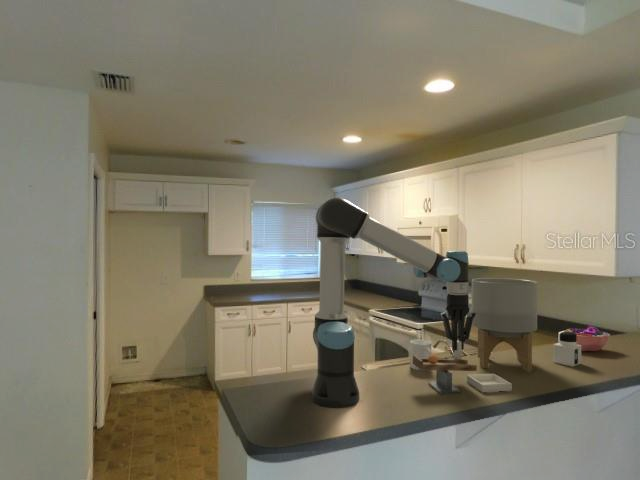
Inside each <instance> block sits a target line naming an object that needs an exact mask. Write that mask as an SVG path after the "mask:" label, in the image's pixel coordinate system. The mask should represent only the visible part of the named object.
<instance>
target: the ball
mask: <svg viewBox="0 0 640 480" xmlns="http://www.w3.org/2000/svg"><path fill="white" fill-rule="evenodd" d="M438 359H439V358H438V357H437V356H436V355H435V354H432V355H430V356H429V357H428V361H429V363H431V364H436V363H437V362H438Z"/></svg>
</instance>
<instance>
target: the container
mask: <svg viewBox="0 0 640 480" xmlns="http://www.w3.org/2000/svg"><path fill="white" fill-rule="evenodd" d="M557 337H558V338H557V339H558V342H557V343H554V344H553V351H552V352H553V355H552V357H553V359H552V360H553V363H555V364H559V365H564V366H568V367H576V366H578V365H581V364H582V350H581V345H577V335H576V334H575V333H573V332H569V331H564V330H562V331H559V332H558V335H557Z"/></svg>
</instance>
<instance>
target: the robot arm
mask: <svg viewBox="0 0 640 480" xmlns="http://www.w3.org/2000/svg"><path fill="white" fill-rule="evenodd" d="M315 221H316V227H317V229H316V232H317V233H316V239H317V240H318V241H319V242H320V270H319V271H320V273H319V278H320V279H319V304H318V305H319V306H318V307H319V310H318V311H317V312H316V313H315V314H314V328H313V331H312V340H313V342H314V345H315V346H316V349H317V351H316V352H317V372H316V373H317V374H316V378H315V380H314V383H313V387H312V389H311V399H312V400H311V401H313V402H314V403H316V404H317V405H319V406H321V407H322V406H323V407H327V408H344V407H345V408H348V407H351V406H353V405H356V404H357V403H358V402H360V391H359V386H358V383H357V381H356V380H357V379H356V378H355V339H356V338H355V337H356V336H355V331H354V328H353V327H352V325H350V324H349V322H348V318H349V317H348V315H347V313H346V312H345V311H344V310H345V309H344V307H345V273H346V270H345V269H346V244H347V243H348V242H349V240H350V239H353V240H355V239H359V240H361V241H363V242H366V243H368V244H369V245H371V246H374V247H376V248H378V249H379V250H381V251H383V252H385V253H386V254H389V255H391V256H392V257H395V258H396V259H399V260H400V261H403V262H405V263H406V264H408V265H410V266H412V268H413V269H412V270H413V274H414V277H416V278H420V279H429V278H430V279H433V280H438V281H440V282H443V283H446V293H447V294H446V307H445V311H443V312H440V313H439V316H440V317H441V319H442V323H443V327H444V332H445V335H446V338H447V339H448V340H451V348H452V350H453V351H454V352H453V353H454V355H453V357H454V358H455V359H457V360H463V359H462V358H463V355H462V352H463V350H464V349H465V347H464V345H465V342H466V341H467V340H469V338H470V336H471V335H470V334H471V331H472V327H473V325H472V322H473V318H474V317H475V315H476V314H475V313H473V312H472V310H470V307H469V303H470V302H469V295H468V294H469V264H470V263H469V254H468V252H467V251H465V250H448V251H446V254H445V256H444V255H442V254H441V253H438V252H436V251H434V250H432V249H431V248H428V247H427V246H425V245H423V244H421V243H419V242H417V241H415V240H413V239H411V238H410V237H408V236H406V235H405V234H403V233H400V232H399V231H397V230H394V229H393V228H391V227H389V226H387V225H385V224H383V223H382V222H379V221H378V220H376V219H374V218H372V217H371V216H370V215H369V213H368V212H367V211H365V210H364V209H362V208H361V207H359V206H357V205H355V204H353V203H352V202H351V201H349V200H348V199H345V198H342V197H333V198H330V199H328V200H326V201H324V203H322V204H320V206H319V207H318V209H317V211H316V216H315ZM449 318H450V320H449ZM450 321H451V322H450ZM450 323H451V324H450Z"/></svg>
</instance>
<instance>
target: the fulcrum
mask: <svg viewBox="0 0 640 480" xmlns="http://www.w3.org/2000/svg"><path fill="white" fill-rule="evenodd" d="M435 371H436V373H435V374H436V377H435V378H436V379H435V381H428V382H427V384H428V386H430V387H431V388H432V389H433V390H435V391H436V393H438V394H439V395H456V394H458V395H459V394H460V395H461V390H460V389H458V388H457V387H456V386H454V385H453V373H452V372H450V371H448V370H435Z"/></svg>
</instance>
